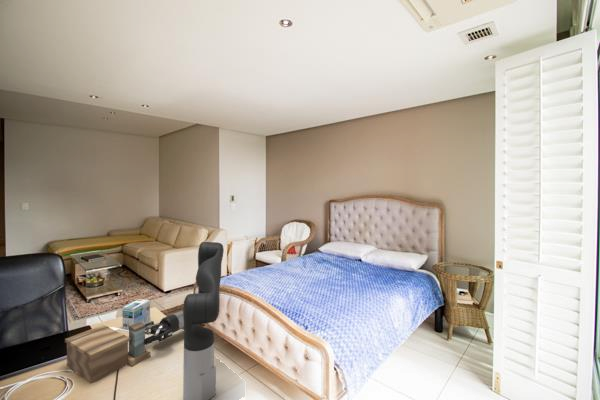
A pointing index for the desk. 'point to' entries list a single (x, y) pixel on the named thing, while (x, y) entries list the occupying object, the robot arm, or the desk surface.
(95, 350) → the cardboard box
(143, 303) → the light bulb box
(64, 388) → the desk surface
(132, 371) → the desk surface
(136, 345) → the grey block with cap
